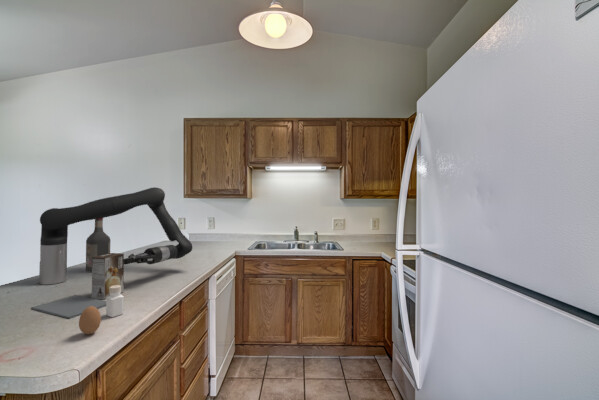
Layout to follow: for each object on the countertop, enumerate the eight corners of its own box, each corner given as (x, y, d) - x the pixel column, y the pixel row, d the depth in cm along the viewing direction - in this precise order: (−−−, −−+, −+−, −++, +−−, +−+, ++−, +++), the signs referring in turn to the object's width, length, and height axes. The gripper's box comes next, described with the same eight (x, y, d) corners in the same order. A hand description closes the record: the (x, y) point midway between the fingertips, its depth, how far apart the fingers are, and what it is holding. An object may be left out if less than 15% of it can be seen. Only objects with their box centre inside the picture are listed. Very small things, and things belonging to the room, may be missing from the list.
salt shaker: (111, 318, 94) (111, 289, 94) (105, 315, 96) (105, 286, 96) (124, 314, 97) (124, 286, 97) (118, 311, 99) (118, 284, 99)
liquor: (92, 273, 145) (93, 214, 145) (83, 270, 150) (84, 213, 150) (111, 269, 153) (112, 213, 153) (103, 267, 158) (104, 212, 158)
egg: (104, 329, 86) (105, 303, 86) (92, 338, 81) (93, 310, 80) (87, 329, 86) (87, 303, 85) (74, 338, 80) (74, 309, 80)
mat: (31, 309, 99) (31, 307, 99) (75, 296, 113) (75, 294, 113) (69, 318, 92) (69, 317, 92) (111, 304, 106) (111, 302, 106)
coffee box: (110, 290, 120) (111, 252, 120) (124, 292, 118) (124, 253, 118) (90, 298, 111) (91, 256, 111) (104, 300, 110) (105, 257, 109)
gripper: (146, 245, 139) (112, 251, 123) (168, 248, 134) (135, 254, 118) (146, 261, 139) (112, 269, 123) (167, 264, 135) (134, 272, 118)
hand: (123, 261), depth 121 cm, fingers closed
